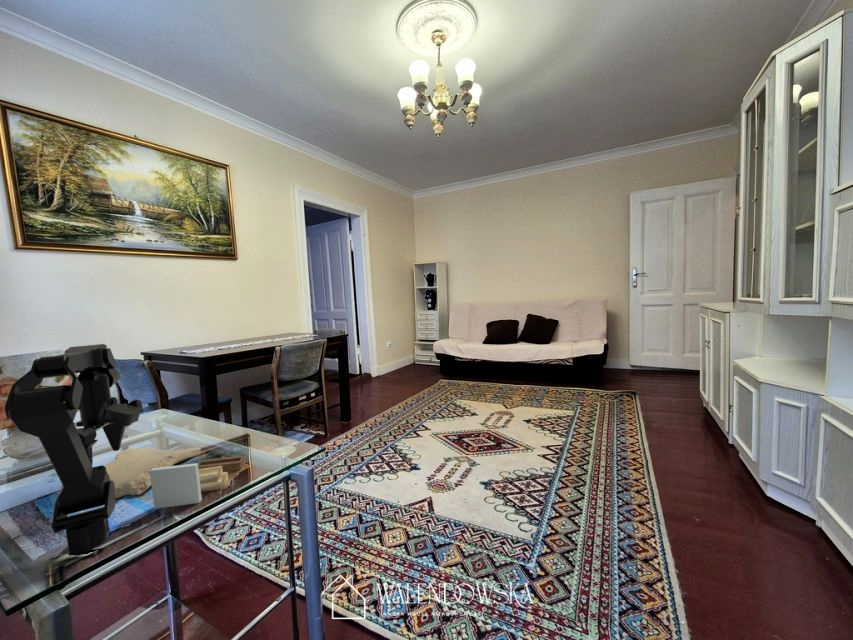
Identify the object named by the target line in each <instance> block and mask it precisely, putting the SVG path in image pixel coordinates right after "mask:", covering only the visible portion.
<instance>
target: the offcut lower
mask: <svg viewBox="0 0 853 640" xmlns="http://www.w3.org/2000/svg"><path fill="white" fill-rule="evenodd" d="M227 480H228V472H223V473H222V475H221V476H220V478H219V480H218V481H215V482H209V483H203V484H200V488H201V491H204V492H208V491H207V490H212V491H216V490H215V489H219V490H222V489H221V488H222V487H223V486H224V484H225V483H226V481H227Z"/></svg>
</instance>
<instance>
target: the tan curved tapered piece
mask: <svg viewBox="0 0 853 640" xmlns="http://www.w3.org/2000/svg"><path fill="white" fill-rule="evenodd" d="M200 454H201V447H190V448H184V449H183V448H182V449H169V450H168V449H167V450H164V449H163V450H162V449H159V448H153V447H152V446H151V447H150V446H146V447H140V448H125V449H123V450H121V451H120V452H118V453H117V454H116V456H115V458H114V459H113V460H111V461H110V462H107V463H106V464H105V465H103V466H104V467H106V470H107V473H108V475H109V478H110V480H111V481H113V482H114V486H115V499H118V498H123V497H126V496H127V495H129V496H136V495H137V496H140V495H142V494H143V493H145V492H146V491H147V490H148V489H149V488H150V487H152V486H151V478H150V470H151V469H152V468H160V467H169V466H175V464H177V463H180V462H182V461H186V460H188V459H189V458H193V457H196V456H199V455H200Z"/></svg>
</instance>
